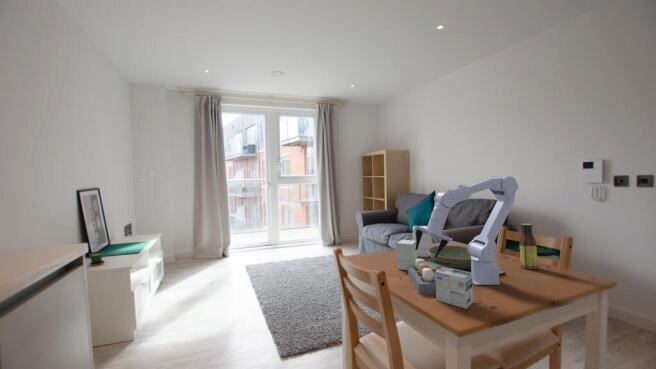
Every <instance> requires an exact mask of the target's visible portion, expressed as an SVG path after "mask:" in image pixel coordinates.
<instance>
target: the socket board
mask: <svg viewBox="0 0 656 369" xmlns="http://www.w3.org/2000/svg"><path fill="white" fill-rule="evenodd" d="M429 268H431V267H430V266H429ZM407 275H408V277H409V278H410V280H411V283H412V284H413V286H414V287H415V289H416V291H417V293H418V294H426V295H427V294H429V295H430V294H432V295H433V294H435V295H436V275H435V272H434V271H433V282H423V276H419V271H416V266H408V270H407Z"/></svg>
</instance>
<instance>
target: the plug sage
mask: <svg viewBox="0 0 656 369" xmlns="http://www.w3.org/2000/svg"><path fill="white" fill-rule="evenodd" d="M425 262H426V261H425V259H424V258H417V259H416V271H419V264H420V263H425Z"/></svg>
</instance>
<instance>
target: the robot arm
mask: <svg viewBox="0 0 656 369" xmlns="http://www.w3.org/2000/svg"><path fill="white" fill-rule="evenodd" d="M518 189H519V184H518V182H517V180H516V178H515V177H514V176H511V175H508V176H496V175H493V176H491V177H490V176H489V177H486V178H484V179H481V180H480V181H477V182H475V183H473V184H470V185H465V184H457V185H456V187H453V188H451V189H450V188H448V189H446V191H439V192H438V193H437V194H436V195H434V197H433V200H434V205H433V206H434V207H433V208H432V209H433V210H432V211H431V215H430V219H429V221H428V223H427V225H426V226H427V229H425V228H422V227H420V226H421V225H416V224H415V225H414V226H415V227H414V230H416V248H415V250H418V247H419V243H420V240H421V237H422V235H423V233H425V234H427V235H430V236H431V237H433V238H436V239H439V240H440V242H439V246H438V248H437V251H436V253H435V255H434V258H435V259H437V258H438V256H439V254H440V253H441V251H442V250H443V249H444V248H445V247H446V246H447V245H448V243H449V244H452V241H453V237H449V236H447V235H444V234H442V232H443V230H444V227H445V223H446V220H447V218H448V215H449V213H450V210H451V208H453V207H454V206H455V205H456V204H458V203H459V202H460V203H461V202H462V201H465V200H468V199H470V198H471V197H472V195H473V194H476V193H479V192H482V191H485V190H490V191H491V193H492V195H494V197H495V198H496V203H495V205H494V207H493V208H492V211H491V213H490V215H489V216H488V219H487V220H486V222H485V224H484V226H483V229H481V230H482V231H481V233H480V234H478V235H476V236H474V237H473V239H472V240H471V241H470V242H469V243H468V244H467V246H466V250H467V253H468V255H470V256H469V257H470V261H471V262H470V264H471V267H470V268H471V269H470V270H471V271H470V272H472V277H473V284H474V285H476V286H483V285H484V286H486V285H490V286H492V285H501V283H500V267H499V263H498V262H497V260H496V259H495V257H496V252H497V248H498V246H497V243H496V239H497V236H498V234H499V232H500V230H501V229H502V227H503V225H504V224H505V221H506V219H507V217H508V215H509V213H510V211H511V209H512V207H513V205H514V203H515V197H516V192H517V191H518ZM426 232H427V233H426ZM428 232H429V233H431V234H428Z"/></svg>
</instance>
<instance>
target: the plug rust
mask: <svg viewBox="0 0 656 369" xmlns="http://www.w3.org/2000/svg"><path fill="white" fill-rule="evenodd" d="M429 267H430V266H429V263H420V264H419V276H423V275H422V269H423V268H429Z"/></svg>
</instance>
